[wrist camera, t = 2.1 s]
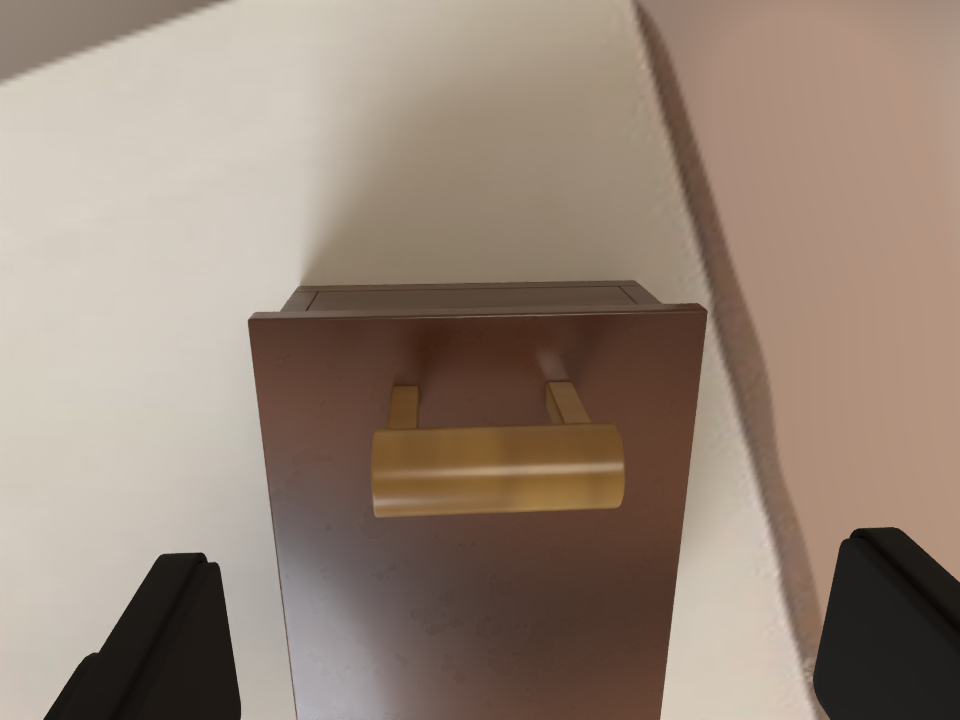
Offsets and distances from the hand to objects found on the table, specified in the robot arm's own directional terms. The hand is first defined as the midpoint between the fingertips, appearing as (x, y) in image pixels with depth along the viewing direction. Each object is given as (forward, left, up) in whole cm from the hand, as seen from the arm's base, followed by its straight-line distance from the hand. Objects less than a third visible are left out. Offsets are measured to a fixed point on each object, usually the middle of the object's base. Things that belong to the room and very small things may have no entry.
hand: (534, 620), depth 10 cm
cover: (+6, 0, -9) cm, 11 cm away
